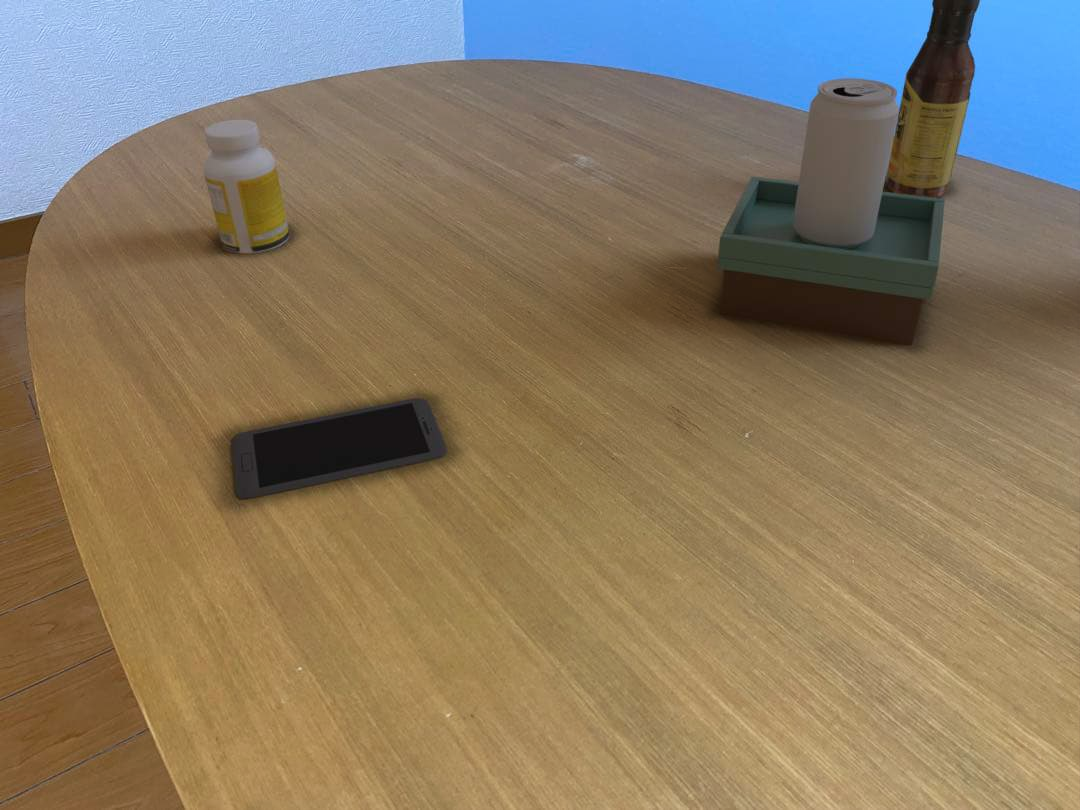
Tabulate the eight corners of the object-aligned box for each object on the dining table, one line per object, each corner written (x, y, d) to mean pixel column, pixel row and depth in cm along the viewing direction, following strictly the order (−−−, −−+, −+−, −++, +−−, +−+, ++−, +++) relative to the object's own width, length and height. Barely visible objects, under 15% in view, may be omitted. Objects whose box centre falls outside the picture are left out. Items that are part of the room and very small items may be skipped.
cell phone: (231, 442, 65) (229, 434, 65) (427, 403, 69) (426, 395, 68) (237, 509, 60) (235, 500, 59) (451, 463, 63) (450, 454, 62)
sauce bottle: (895, 175, 102) (935, -22, 90) (954, 188, 99) (1004, -15, 87) (874, 196, 98) (913, -8, 86) (935, 209, 95) (984, -1, 83)
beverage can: (775, 229, 78) (795, 82, 71) (839, 215, 80) (864, 70, 73) (823, 260, 73) (849, 106, 66) (889, 244, 75) (921, 93, 68)
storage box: (925, 282, 82) (945, 198, 78) (916, 357, 72) (938, 266, 68) (742, 256, 87) (751, 175, 83) (711, 323, 77) (719, 236, 73)
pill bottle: (303, 236, 93) (282, 120, 86) (264, 264, 88) (238, 143, 81) (249, 227, 95) (224, 113, 88) (208, 254, 90) (178, 135, 83)
